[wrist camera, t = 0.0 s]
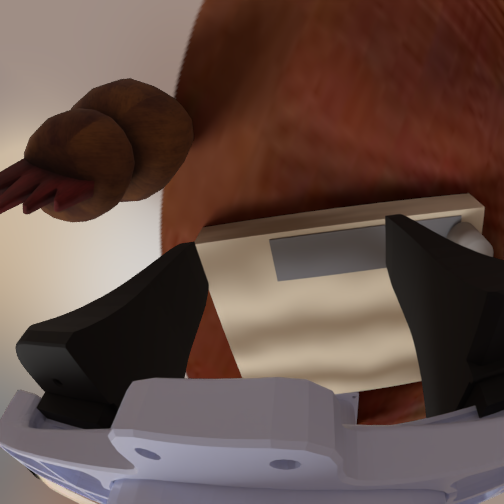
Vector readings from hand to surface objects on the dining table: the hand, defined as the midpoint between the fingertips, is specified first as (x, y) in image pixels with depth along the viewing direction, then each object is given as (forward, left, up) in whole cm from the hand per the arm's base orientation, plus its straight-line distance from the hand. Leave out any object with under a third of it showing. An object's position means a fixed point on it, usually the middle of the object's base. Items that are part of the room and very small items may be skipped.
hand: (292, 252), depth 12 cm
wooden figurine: (+5, +8, -10) cm, 14 cm away
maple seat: (-12, -3, -10) cm, 16 cm away
